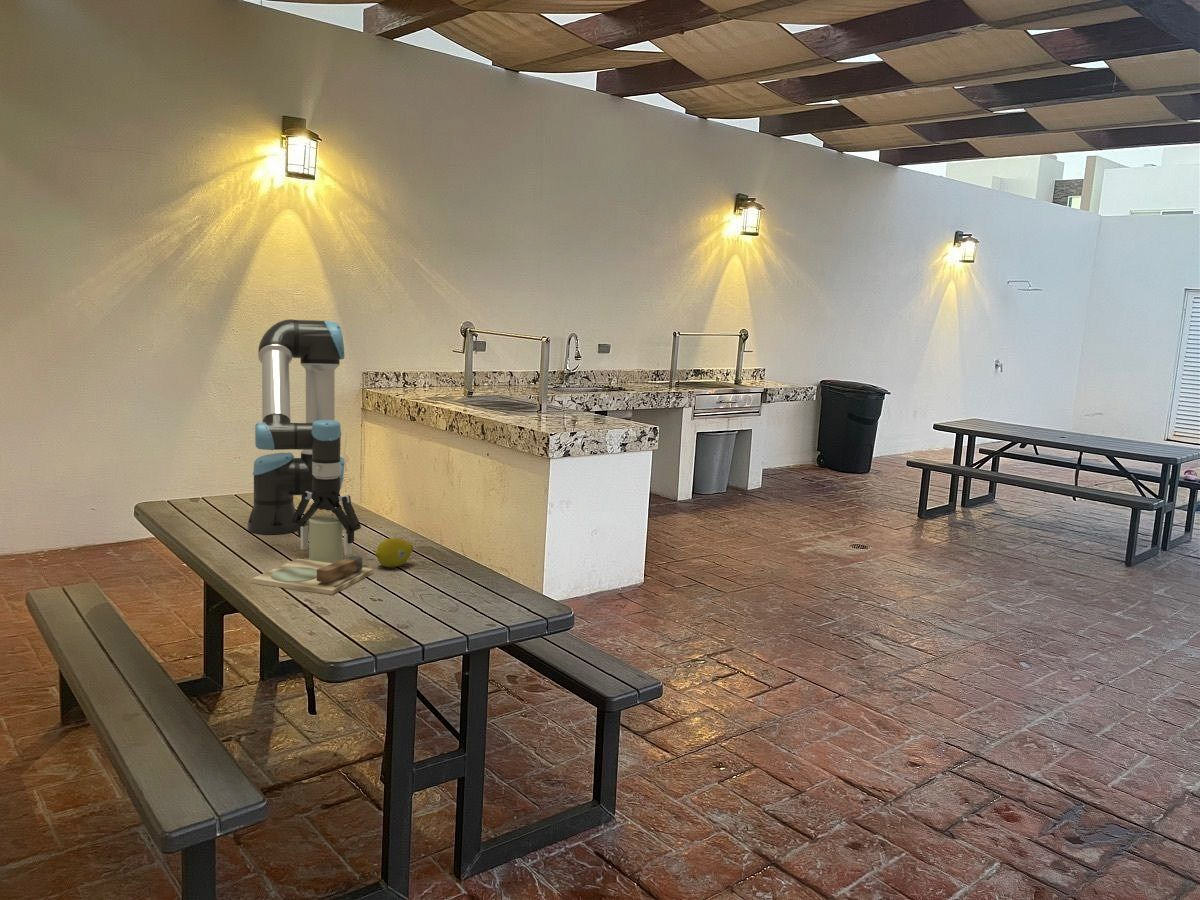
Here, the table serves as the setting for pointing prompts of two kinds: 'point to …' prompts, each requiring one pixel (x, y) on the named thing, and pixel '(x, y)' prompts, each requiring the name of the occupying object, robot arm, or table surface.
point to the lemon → (393, 552)
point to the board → (308, 577)
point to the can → (325, 539)
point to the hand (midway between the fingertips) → (325, 551)
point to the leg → (339, 569)
